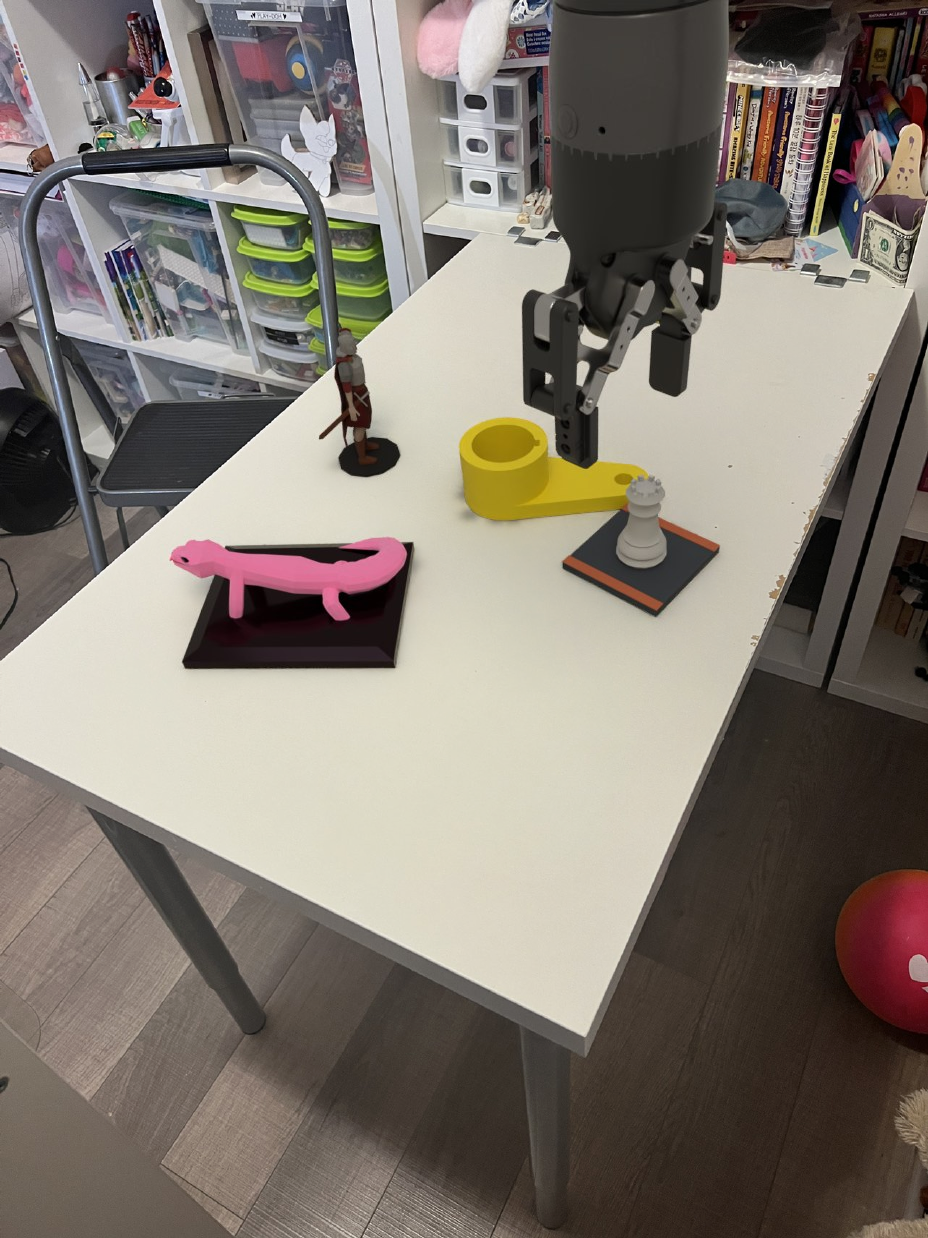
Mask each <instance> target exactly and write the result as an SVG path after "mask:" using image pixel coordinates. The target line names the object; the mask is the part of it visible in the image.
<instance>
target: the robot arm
mask: <svg viewBox="0 0 928 1238" xmlns="http://www.w3.org/2000/svg"><path fill="white" fill-rule="evenodd" d="M551 7H552V8H551V9H552V12H551V13H552V17H551V28H550V29H551V30H550V40H549V51H548V97H549V98H548V102H549V103H548V108H549V134H550V135H549V137H550V166H551V167H550V169H551V170H550V171H551V174H550V175H551V203H552V204H551V205H552V206H551V207H552V209H551V210H552V220H553V224H554V226H555V229H556V230H557V231H558V233H559V234H560V236H561V237H562V239H563V241H564V242H565V244H566V246H567V248H568V250H569V263H568V268H567V272H566V276H565V279H564V284H563V285H562V286H561V287H559V288H557V289H555V290H554V291H552V292H550V293H546V292H542V291H540V290H536V289H530V290H528V291H527V292H526V293H525V295H524V296H523V299H522V302H521V339H522V341H521V342H522V343H521V344H522V346H521V347H522V349H521V350H522V351H521V352H522V400H523V403H524V405H526V406H528V407H529V408H530V407H531V408H533V409H535V410H538V411H540V412H542V413H544V414H547V415H549V416H552V417H554V434H555V435H554V438H555V439H554V440H555V442H554V443H555V452H556V454H557V456H558V457H559V458H563V459H564V460H565V461H568V462H570V463H572V464H574V465H577V466H579V467H581V468H583V469H588V468H589V467H591V466H592V465H593V464H594V463H596V462H597V461H599V406H597V405H598V402H599V400H600V397H601V394H602V392H603V389H604V387H605V384H606V381H607V379H608V376H609V375H610V374H611V373H615V372H617V371H618V370H620V368H621V366H622V364H623V361H624V360H625V356H626V354H627V352H628V349H629V346H630V344H631V341H633V340H634V339H636V337H637V336H638V335H639V334H640V333H641V331H642V330H643V329H644V328H647V327H650V326H653V325H654V324H658V326H656V327H654V328H653V329H651V332H650V333H651V335H650V349H649V350H650V352H649V370H648V384H649V386H650V388H651V389H652V390H654V391H655V392H659V393H662V394H664V395H667V396H669V397H672V398H677V397H679V396H680V395H681V394H683V393H684V392H685V391H686V390H687V388H688V380H689V378H688V377H689V370H690V360H691V359H690V358H691V349H692V338H693V335H695V334H696V333H697V332H698V330H699V329H700V327H701V324H702V320H703V316H702V313H704V311H705V310H707V311H710V312H711V311H714V310H715V309H716V308H717V306H718V305H719V303H720V299H721V295H722V285H723V284H722V283H723V271H724V259H725V258H724V257H725V245H726V235H727V233H726V232H727V219H728V218H727V217H728V204H727V203H726V202H722V201H718V200H715V199H716V189H717V180H718V168H719V157H720V150H721V149H720V147H721V139H722V130H723V120H724V119H723V118H724V109H725V100H726V99H725V98H726V89H727V77H728V69H729V57H730V56H729V55H730V21H729V0H552V6H551ZM692 269H695V270H699V271H701V272H702V283H698V282H695V281H692V271H693V270H692ZM584 327H586V329H587V330H588V332H589V333H590V334H592V335H594V336H596V337H598V338H600V339H604V340H606V341H607V342H606V344H605V345H604V346H603V347H602V348H594V347H591V346H588V345H585V344H583V342H582V340H581V335H582V334H583V332H584ZM580 362H585V363H587V364H588V371H587V374H586V376H585V378H584V380H583V384H582V385H579V384H577V383H578V378H577V377H578V364H579V363H580ZM546 374H548V375H550V376H551V377H550V380H549V382H548V383H546V380H547V379H546V377H547V376H546Z"/></svg>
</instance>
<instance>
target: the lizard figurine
mask: <svg viewBox="0 0 928 1238" xmlns="http://www.w3.org/2000/svg"><path fill="white" fill-rule="evenodd" d="M414 543H415V542H414V541H400V540H398V539H396V538H394V537H390V536H383V537H370V538H365V539H362V540H359V541H356V542H343V543H342V542H341V543H340V542H336V543H335V542H334V543H292V544H291V543H289V544H288V543H287V544H286V543H285V544H243V545H242V544H241V545H239V544H238V545H237V544H236V545H233V544H232V545H225V546H224V547H223V546H222V545H221V544H219V543H218V542H215V541H213V540H211V539H208V538H207V539H204V540H196V539H190V540H188V541H187V542H186V543H185V545H179V546H177V547H175V548H174V549H173V550H172V551H171V553H170V558H169V562H171V561H172V563H173V564H174V565H175V566H176V567H178V568H180V569H182V570H183V571H186V572H188V573H190V574H192V575H194V576H195V577H197V578H200V579H206V578H208V577H212V576H213V578H212V579H211V583H210V585H209V589H208V591H207V593H206V596H205V599H204V602H203V604H202V607H201V609H200V612H199V615H198V618H197V621H196V623H195V626H194V628H193V630H192V633H191V636H190V638H189V642H188V644H187V646H186V649H185V652H184V654H183V657H182V660H181V664H182V665H183V667H184V669H185V670H190V669H191V670H205V669H207V670H209V669H211V670H214V669H215V670H218V669H219V670H220V669H222V670H224V669H225V670H227V669H230V670H231V669H233V670H234V669H235V670H236V669H237V670H238V669H243V670H246V669H251V670H252V669H254V670H255V669H258V670H259V669H260V670H261V669H263V670H264V669H266V670H267V669H268V670H269V669H270V670H271V669H396V665H397V659H398V654H399V648H400V642H401V641H400V640H401V635H402V630H403V629H402V628H403V623H404V618H405V617H404V616H405V611H406V604H407V597H408V592H409V585H410V581H411V574H412V567H413V561H414V555H415V544H414Z"/></svg>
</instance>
